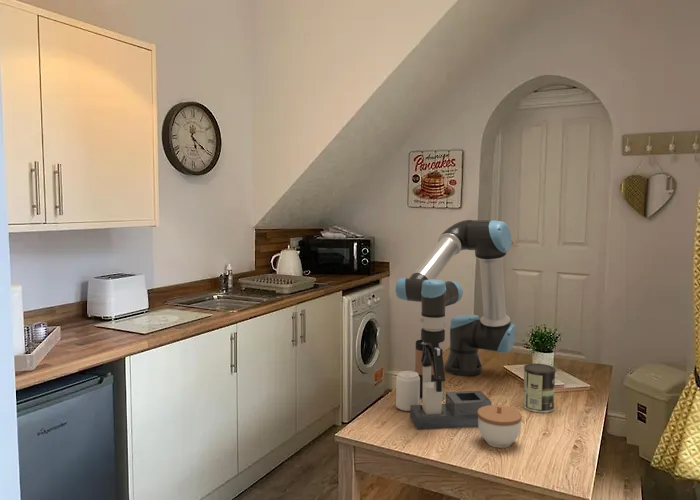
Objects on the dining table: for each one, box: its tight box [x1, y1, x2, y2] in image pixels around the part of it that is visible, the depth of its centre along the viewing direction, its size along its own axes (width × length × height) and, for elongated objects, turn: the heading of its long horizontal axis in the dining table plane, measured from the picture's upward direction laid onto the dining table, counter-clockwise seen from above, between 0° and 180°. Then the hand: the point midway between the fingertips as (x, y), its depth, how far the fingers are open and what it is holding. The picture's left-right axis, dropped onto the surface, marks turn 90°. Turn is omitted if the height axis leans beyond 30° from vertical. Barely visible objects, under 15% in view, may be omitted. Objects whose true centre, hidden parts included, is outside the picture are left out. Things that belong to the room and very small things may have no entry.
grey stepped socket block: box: [409, 390, 492, 431], centre depth 179 cm, size 10×24×8 cm, turn 97°
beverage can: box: [395, 370, 421, 412], centre depth 191 cm, size 8×8×12 cm
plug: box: [421, 382, 445, 415], centre depth 178 cm, size 5×6×11 cm
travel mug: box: [414, 339, 434, 399], centre depth 202 cm, size 8×8×20 cm
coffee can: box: [522, 363, 556, 414], centre depth 191 cm, size 10×10×14 cm
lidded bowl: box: [477, 404, 523, 449], centre depth 164 cm, size 13×13×11 cm
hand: (432, 393), depth 178 cm, fingers open, 13 cm apart
